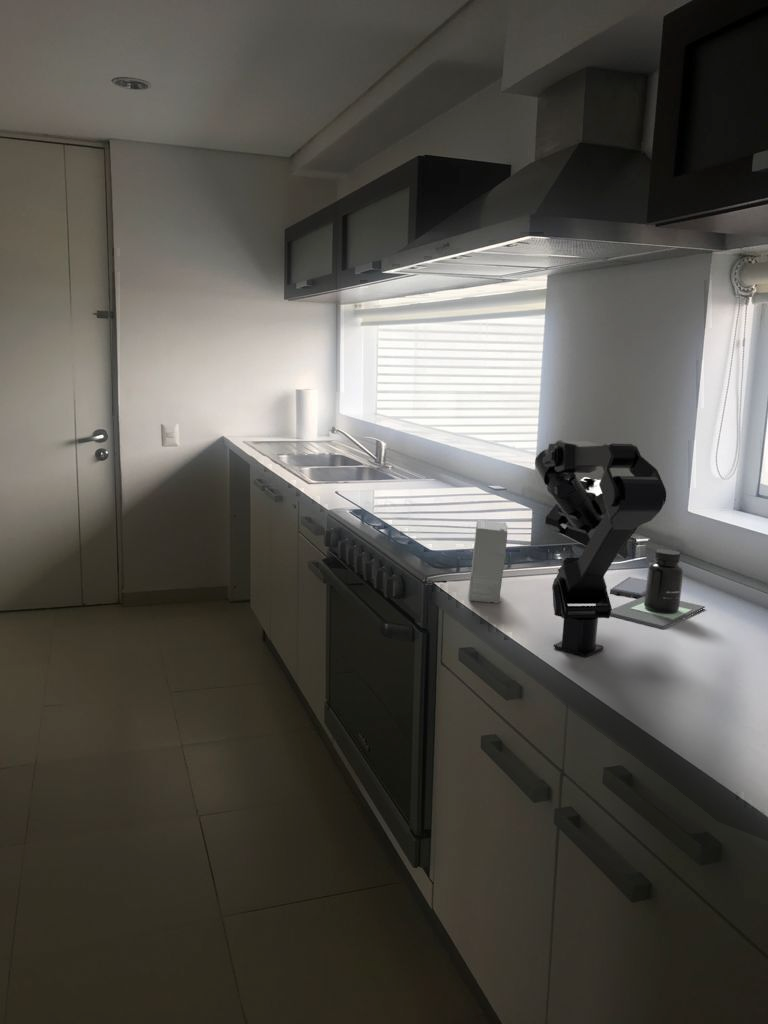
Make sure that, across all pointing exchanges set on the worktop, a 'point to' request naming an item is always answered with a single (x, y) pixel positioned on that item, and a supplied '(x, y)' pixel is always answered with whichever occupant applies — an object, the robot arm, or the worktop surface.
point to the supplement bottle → (664, 582)
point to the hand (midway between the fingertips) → (607, 550)
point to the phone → (631, 587)
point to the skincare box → (488, 561)
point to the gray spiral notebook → (653, 613)
